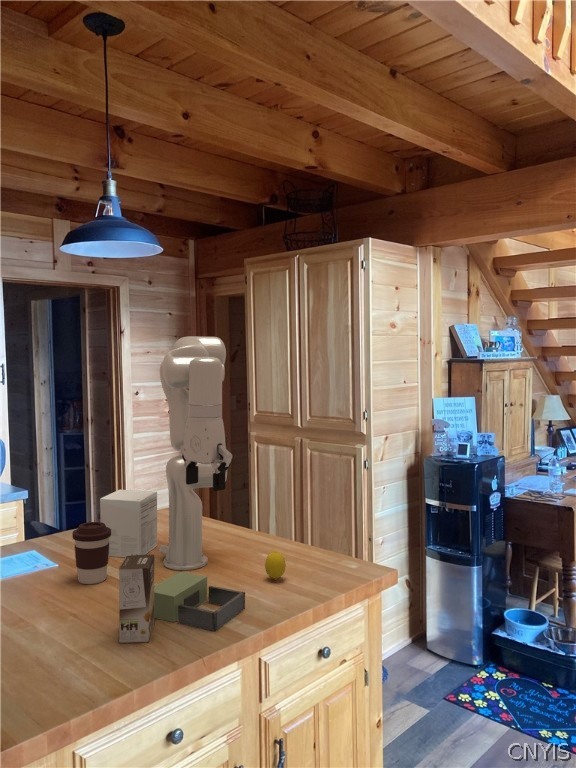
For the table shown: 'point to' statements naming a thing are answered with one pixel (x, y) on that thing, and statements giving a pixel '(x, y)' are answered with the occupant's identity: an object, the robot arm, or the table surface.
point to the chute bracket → (214, 620)
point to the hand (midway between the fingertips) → (205, 486)
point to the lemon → (275, 565)
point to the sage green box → (178, 594)
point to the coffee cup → (91, 551)
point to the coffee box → (136, 598)
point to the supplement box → (130, 521)
